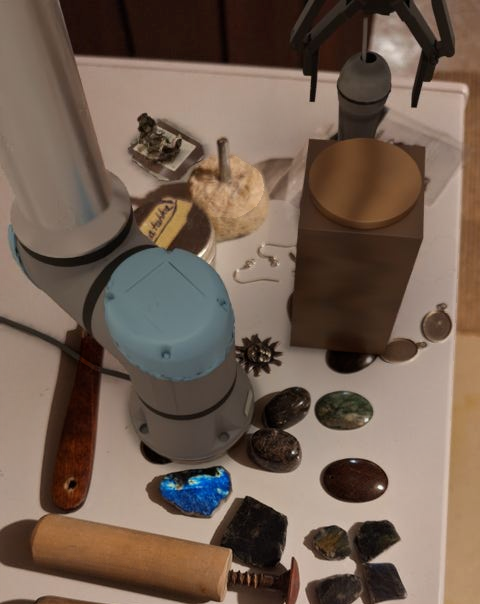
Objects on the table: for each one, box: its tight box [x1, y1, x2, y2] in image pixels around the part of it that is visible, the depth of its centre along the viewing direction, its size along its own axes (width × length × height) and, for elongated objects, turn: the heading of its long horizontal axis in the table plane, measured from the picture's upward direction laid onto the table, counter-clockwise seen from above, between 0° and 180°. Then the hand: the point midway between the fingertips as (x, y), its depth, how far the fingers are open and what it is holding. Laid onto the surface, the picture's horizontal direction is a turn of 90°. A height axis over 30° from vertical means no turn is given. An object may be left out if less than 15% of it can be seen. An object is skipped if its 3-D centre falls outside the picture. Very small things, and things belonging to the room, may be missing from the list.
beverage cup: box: [335, 17, 393, 141], centre depth 85 cm, size 7×7×20 cm
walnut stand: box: [289, 138, 426, 356], centre depth 73 cm, size 12×12×22 cm
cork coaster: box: [308, 138, 422, 229], centre depth 63 cm, size 11×11×1 cm
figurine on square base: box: [127, 112, 205, 182], centre depth 95 cm, size 12×6×11 cm
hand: (363, 98), depth 86 cm, fingers open, 13 cm apart
